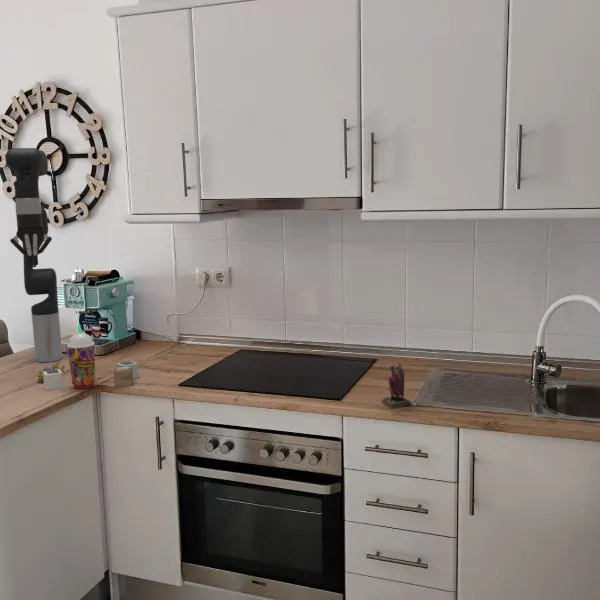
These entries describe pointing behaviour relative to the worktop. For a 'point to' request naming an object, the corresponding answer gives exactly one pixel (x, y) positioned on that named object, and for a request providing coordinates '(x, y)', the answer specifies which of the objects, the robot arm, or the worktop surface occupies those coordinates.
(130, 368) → the block walnut numbered
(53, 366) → the toy
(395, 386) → the figurine
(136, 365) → the block grey numbered
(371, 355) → the worktop surface
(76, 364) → the smoothie
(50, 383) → the white hollow cube
